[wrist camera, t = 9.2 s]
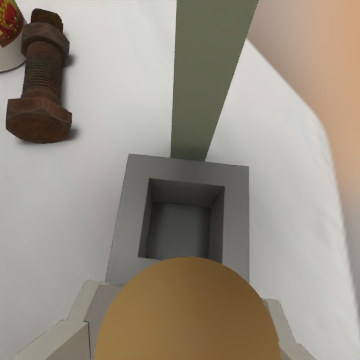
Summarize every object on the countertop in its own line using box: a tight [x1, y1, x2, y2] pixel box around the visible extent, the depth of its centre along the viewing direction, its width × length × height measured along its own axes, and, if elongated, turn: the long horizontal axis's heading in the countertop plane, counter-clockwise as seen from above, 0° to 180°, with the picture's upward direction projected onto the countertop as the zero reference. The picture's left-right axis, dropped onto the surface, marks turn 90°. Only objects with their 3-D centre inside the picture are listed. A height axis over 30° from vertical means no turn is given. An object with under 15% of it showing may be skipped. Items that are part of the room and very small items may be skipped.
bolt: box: [6, 8, 72, 144], centre depth 26 cm, size 6×5×15 cm
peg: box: [94, 256, 281, 360], centre depth 10 cm, size 4×4×9 cm
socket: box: [105, 154, 249, 285], centre depth 20 cm, size 9×9×6 cm
